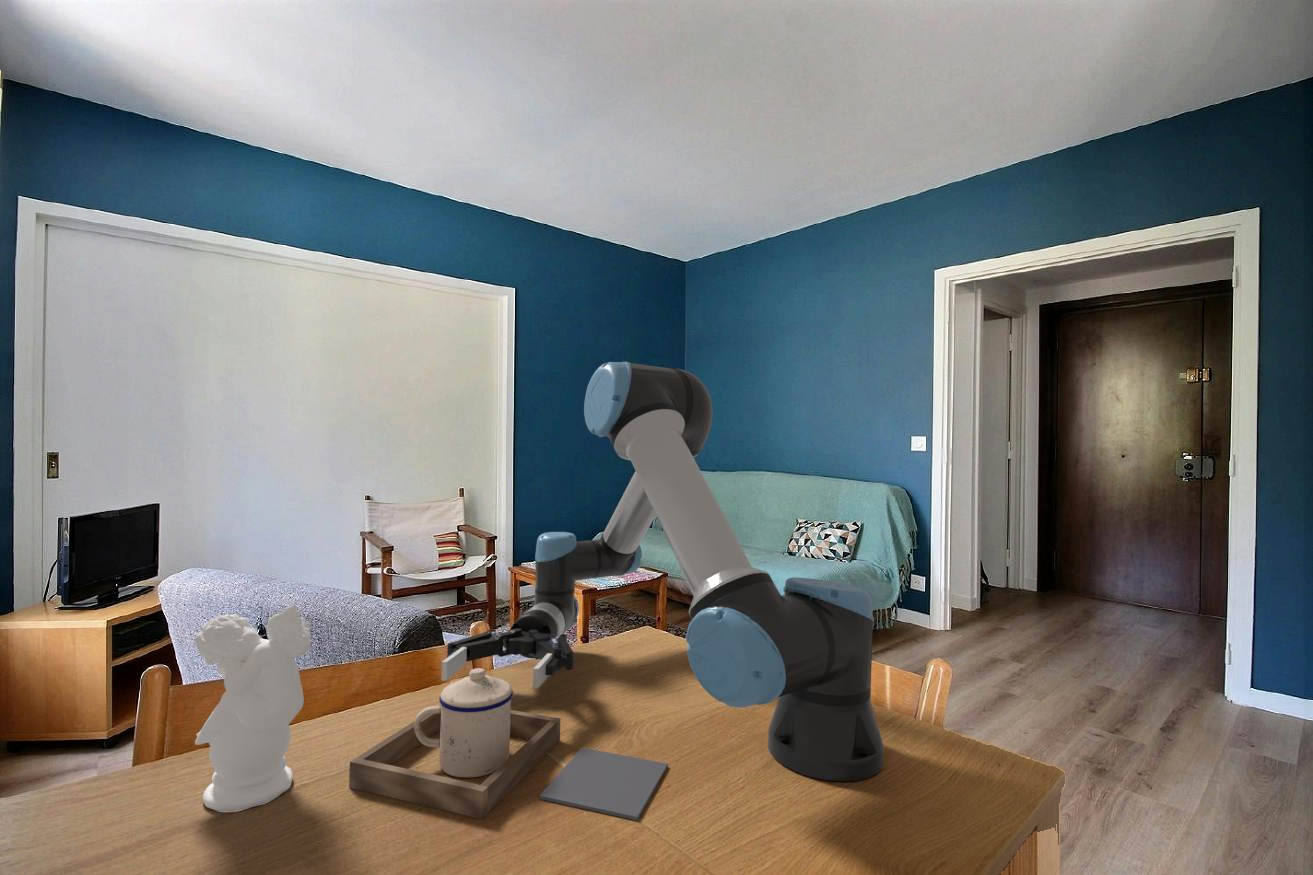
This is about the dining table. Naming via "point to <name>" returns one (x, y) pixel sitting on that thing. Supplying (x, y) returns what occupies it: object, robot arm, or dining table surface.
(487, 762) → the teacup with lid
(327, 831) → the dining table surface
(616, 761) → the charcoal mat
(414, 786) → the walnut box
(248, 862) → the dining table surface
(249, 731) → the cherub figurine
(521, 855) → the dining table surface
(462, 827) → the dining table surface
